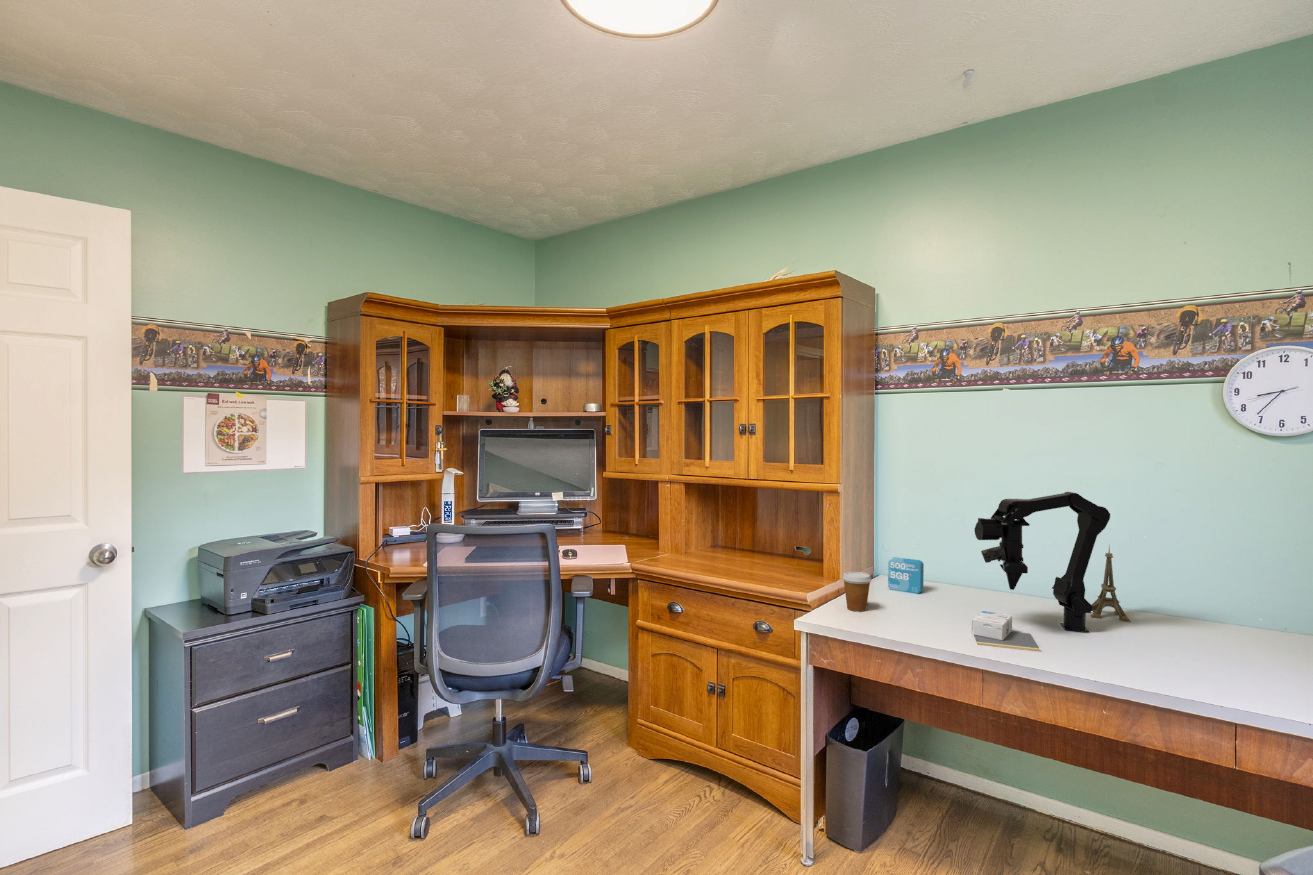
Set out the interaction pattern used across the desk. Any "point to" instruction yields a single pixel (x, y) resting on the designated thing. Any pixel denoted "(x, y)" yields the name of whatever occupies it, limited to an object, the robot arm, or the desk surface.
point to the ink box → (992, 625)
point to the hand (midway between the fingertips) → (1011, 589)
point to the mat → (1010, 641)
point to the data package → (905, 575)
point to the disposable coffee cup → (856, 590)
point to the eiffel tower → (1102, 598)
